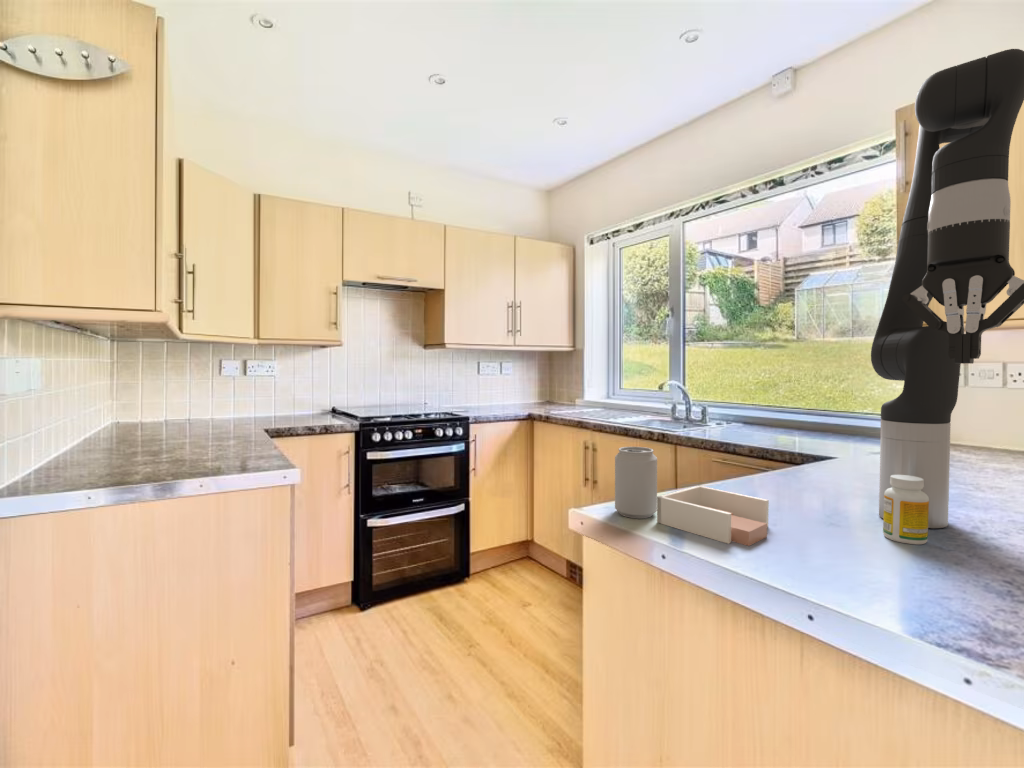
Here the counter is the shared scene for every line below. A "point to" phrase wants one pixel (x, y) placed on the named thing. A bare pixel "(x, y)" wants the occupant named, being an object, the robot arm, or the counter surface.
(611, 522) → the counter surface
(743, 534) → the tile
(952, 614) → the counter surface
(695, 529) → the white u-shaped bracket
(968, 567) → the counter surface
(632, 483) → the can
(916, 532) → the supplement bottle
